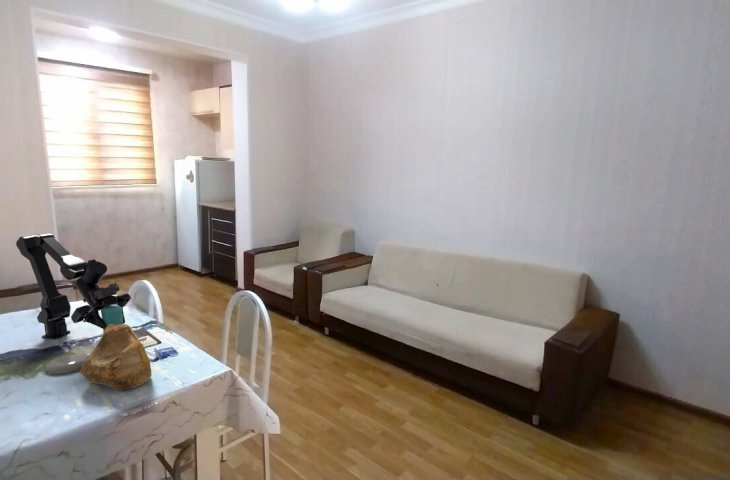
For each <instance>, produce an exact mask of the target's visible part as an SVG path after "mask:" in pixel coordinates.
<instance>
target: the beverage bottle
mask: <svg viewBox="0 0 730 480" xmlns="http://www.w3.org/2000/svg"><path fill="white" fill-rule="evenodd" d="M116 296H117V295H112V296H108V297H105V298H104V302H103V303H104V304H105V305H108V306H105V307H104V308H103V309H102V310H100V314H101V315H100V316H101V318H102V320H103V321H104V322H105V324H106V325H107V326H108V325H110V324H114V325H120V324H125V323H124V322H123V316H122V315H123V314H122V307H120V306H119V305H111V304H115V303H117V302H118V301H117V297H116ZM104 331H105V330H104V329H102V334H103V333H104Z"/></svg>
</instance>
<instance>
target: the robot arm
mask: <svg viewBox="0 0 730 480" xmlns="http://www.w3.org/2000/svg"><path fill="white" fill-rule="evenodd" d="M15 245H16V247H17V249H18V250H19V253H20V255H21V256H23V257H24V258H25V259H27V260H28V261H29V263H30V265H31V269H32V270H33V271H32V272H33V274H34V277H35V279H36V282H37V285H38V287H39V290H40V293H41V295H42V299H41V301H40V305H39V306H40V311H39V313H38V315H37V316H36V319H37V322H38V323H39V324H42V325H43V326H44V332H45V334H43V335H42V336H41V338H46V339H53V340H55V339H59V338H61V337H63V336H65V335H67V334H70V333H71V330H68V326H67V322H66V318H70V319H71V321H72V323H74V324H78V323H80V322H83V323H89V324H91V325H92V326H93V325H94V326H95V327H97V328H100V329H102V330H103V329H104V330H105V329H106V327H107V325H106V324H105V322H104V321H103V320H102V316H101V315H100V312H101V310H102V309H103V308H104V307H105V306H108V305H105V304H104V303H103V302H104V298H105V297H108V296H116V297H117V301H118V302H117V303H115V304H111V305H119V306H120V307H122V314H123V315H122V316H123V322H124V324H126V319H125V313H124V307H126V306H127V304H128V303H129V301H130V300H131V299H132V297H131V295H130V294H129V292H124V293H121V294H117V292H119V291H120V286H119V285H118V284H117V282H113V283H110V284H109V285H108V286H107V287H106V286H105V287H103V286H100V285H99V284H98V283H100V282H101V280H102V279H103V278H104V277H105V275H106V273H107V271H108V266H107V265H106V264H105V263H103V262H101V261H97V260H96V259H95V258H93V259H88V261H85V260H84V259H83V258H81V257H77V256H75V255H73V254H71V253H70V251H68V250H67V249H66V248H65V247H64V246H63V245H62V244H61V243H60V242H59V241H58V240H57V239H56V237H55V235H54V234H52V233H43V234H31V235H23V236H19V237H18V240H16V242H15ZM47 254H48V255H49V256H50V257H51V258H52V259H53V260H54V261H55V263H57V264H58V265H59V272H60V274H62V276H63V278H65V280H68V281H71V280H76V281H74V282H73V283H74V284H73V291H75V290H78V291H79V293H80V295H81V296H82V297H83V299H82V301H83V303H85V305H82V306H79V307H76V308H75V310H74V311H73V313H72V314H71V303H70V302H69V300H68V299H69V298H68V296H67V295H66V294H62V293H60V292H59V290H58V287H57V285H56V282H55V279H54V276H53V274H52V271H51V269H50V266H49V262H48V260H47V257H46V255H47ZM86 303H87V304H86ZM99 311H100V312H99Z"/></svg>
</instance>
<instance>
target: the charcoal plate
mask: <svg viewBox="0 0 730 480" xmlns="http://www.w3.org/2000/svg"><path fill="white" fill-rule="evenodd" d="M89 355H90V354H85V353H78V354H77V353H75V354H70V355H64V356H62V357H59V358H56V359H54V360H52V361H51V362H49V363H48V364H47V365H46V366H45V369H46V374H48V375H51V376H64V375H70V374H74V373H77V372H80V370H81V368H82V365H83V364H84V362H85V360H86V358H87V357H88V356H89Z"/></svg>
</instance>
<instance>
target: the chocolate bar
mask: <svg viewBox="0 0 730 480" xmlns="http://www.w3.org/2000/svg"><path fill="white" fill-rule="evenodd" d="M132 330H133V329H132ZM133 332H134V333H135V334H136V336H137V337H138V339H139V341H140V342H141V343H142V344H143V346H144V348H149V347H153V346H156V345H159V344H162V340H160V339H159V338H158V337H156V336H155V335H153V334H152V333H151V332H150V331H149V330H147V329H146V328H145V327H141V328H138V329H134V330H133Z"/></svg>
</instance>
